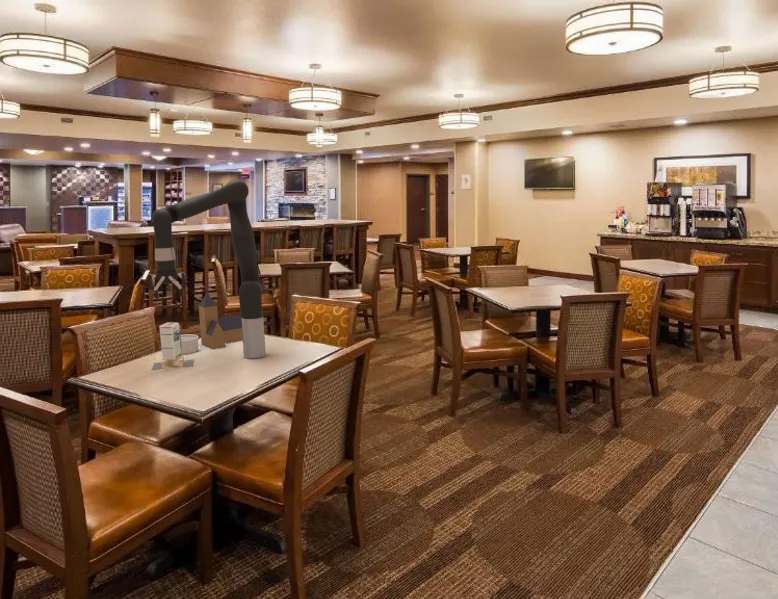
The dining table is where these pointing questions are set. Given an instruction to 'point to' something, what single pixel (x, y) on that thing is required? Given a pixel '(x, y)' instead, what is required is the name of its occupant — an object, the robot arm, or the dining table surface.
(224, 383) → the dining table surface
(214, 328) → the toy church
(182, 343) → the ramekin
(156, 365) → the build mat
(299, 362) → the dining table surface
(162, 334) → the syrup box
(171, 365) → the maple slab
